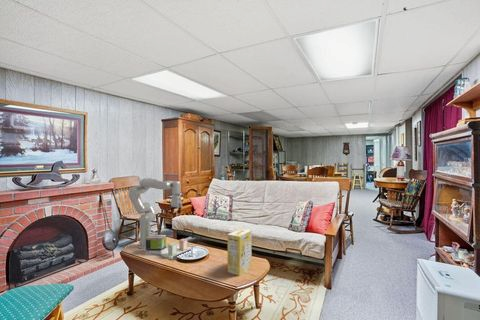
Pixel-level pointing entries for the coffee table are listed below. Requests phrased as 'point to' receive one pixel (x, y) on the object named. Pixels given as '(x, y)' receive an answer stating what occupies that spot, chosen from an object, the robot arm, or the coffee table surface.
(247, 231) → the pasta box
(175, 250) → the sage carton
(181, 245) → the terracotta carton
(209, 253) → the coffee table surface
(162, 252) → the shelf
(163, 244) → the tea box
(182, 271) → the coffee table surface
